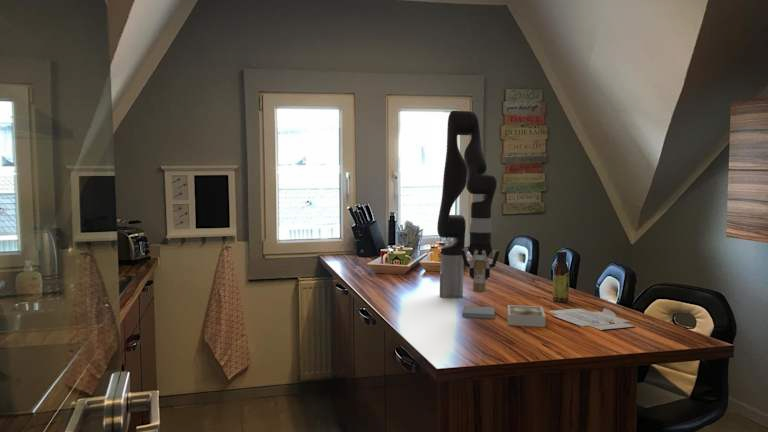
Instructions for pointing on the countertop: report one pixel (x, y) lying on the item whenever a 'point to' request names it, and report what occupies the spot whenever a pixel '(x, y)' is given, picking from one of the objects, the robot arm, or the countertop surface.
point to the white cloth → (591, 318)
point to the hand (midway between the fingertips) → (479, 278)
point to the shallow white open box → (526, 317)
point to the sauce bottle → (561, 278)
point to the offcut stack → (525, 311)
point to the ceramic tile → (478, 312)
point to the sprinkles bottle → (479, 274)
